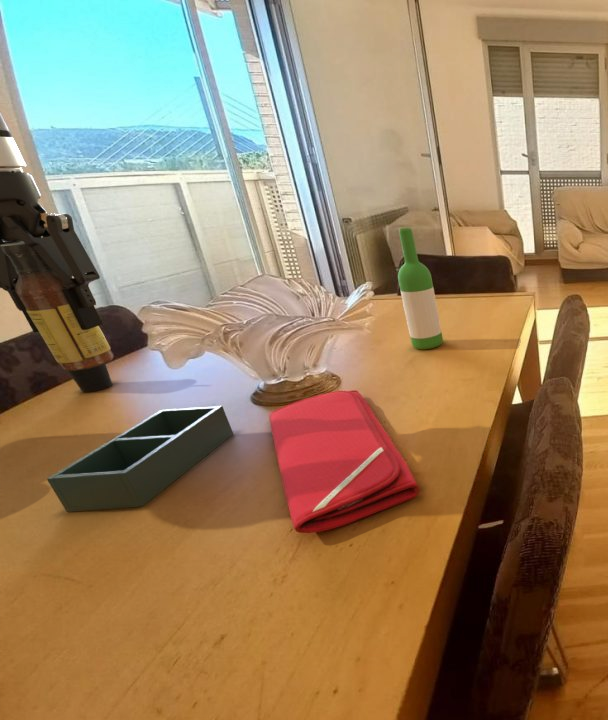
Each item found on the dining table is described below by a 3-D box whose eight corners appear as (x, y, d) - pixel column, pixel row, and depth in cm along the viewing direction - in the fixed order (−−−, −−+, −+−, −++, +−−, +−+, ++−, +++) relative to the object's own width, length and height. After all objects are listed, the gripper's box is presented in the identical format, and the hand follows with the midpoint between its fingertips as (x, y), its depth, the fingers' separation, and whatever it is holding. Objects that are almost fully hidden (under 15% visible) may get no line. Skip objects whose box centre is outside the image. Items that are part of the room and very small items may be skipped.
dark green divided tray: (66, 512, 67) (45, 478, 65) (174, 437, 85) (161, 409, 83) (142, 506, 68) (125, 473, 66) (233, 433, 86) (222, 405, 83)
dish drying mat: (361, 396, 98) (357, 380, 97) (424, 495, 68) (419, 473, 67) (270, 422, 89) (264, 404, 88) (297, 547, 60) (288, 524, 58)
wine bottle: (442, 338, 130) (421, 225, 118) (444, 347, 123) (423, 229, 111) (412, 343, 127) (387, 228, 115) (413, 352, 120) (387, 232, 109)
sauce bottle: (115, 354, 81) (60, 236, 74) (115, 364, 77) (56, 240, 70) (59, 365, 77) (-6, 242, 69) (56, 376, 73) (-13, 246, 65)
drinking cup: (102, 379, 110) (60, 296, 102) (130, 380, 109) (90, 296, 101) (62, 394, 103) (14, 306, 95) (92, 396, 102) (45, 306, 94)
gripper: (87, 168, 70) (153, 317, 79) (-55, 173, 69) (28, 324, 78) (34, 169, 63) (112, 332, 72) (-125, 174, 62) (-25, 340, 71)
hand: (69, 328), depth 75 cm, fingers closed on sauce bottle, 6 cm apart
